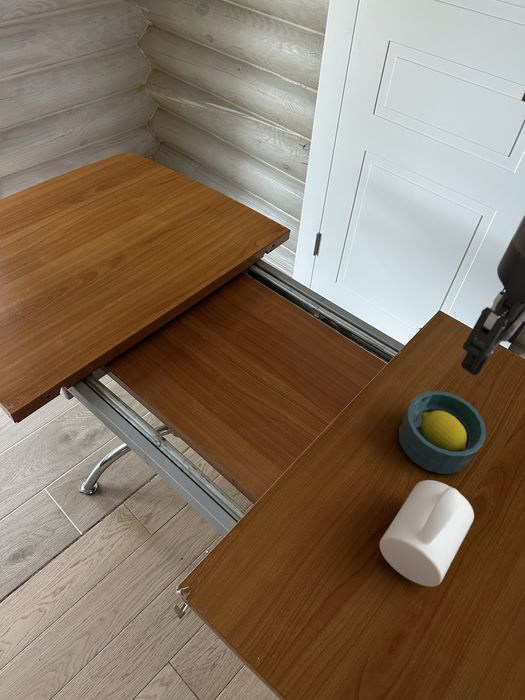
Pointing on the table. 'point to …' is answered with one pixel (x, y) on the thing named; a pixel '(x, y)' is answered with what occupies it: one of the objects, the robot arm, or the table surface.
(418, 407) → the bowl
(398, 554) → the mug
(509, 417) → the table surface
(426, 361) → the table surface
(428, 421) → the lemon
